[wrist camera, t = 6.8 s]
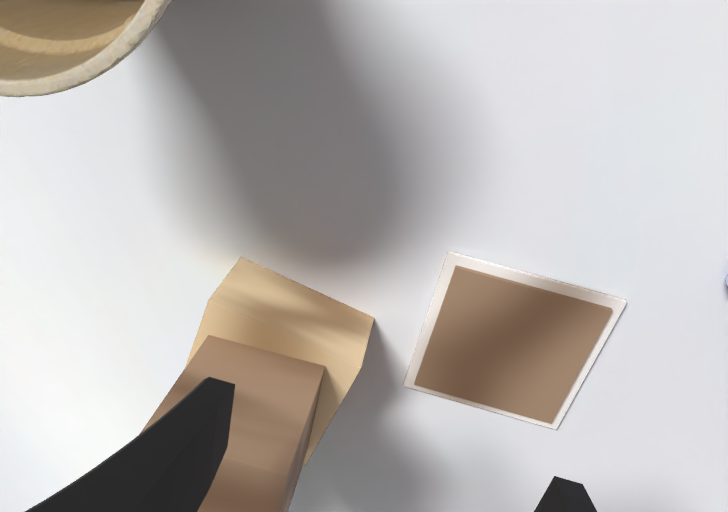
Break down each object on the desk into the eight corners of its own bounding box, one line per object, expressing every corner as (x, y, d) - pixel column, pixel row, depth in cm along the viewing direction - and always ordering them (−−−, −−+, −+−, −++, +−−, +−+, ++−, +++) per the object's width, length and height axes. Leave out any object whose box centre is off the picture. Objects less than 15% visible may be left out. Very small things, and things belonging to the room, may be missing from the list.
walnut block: (307, 450, 23) (269, 566, 18) (201, 420, 23) (139, 528, 19) (325, 366, 21) (287, 475, 16) (208, 334, 21) (139, 434, 16)
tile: (625, 299, 21) (628, 305, 20) (555, 426, 24) (556, 433, 24) (448, 250, 21) (448, 256, 21) (403, 382, 24) (402, 389, 24)
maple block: (375, 314, 23) (360, 368, 20) (323, 407, 26) (305, 466, 23) (243, 254, 23) (208, 299, 20) (206, 354, 26) (171, 408, 23)
